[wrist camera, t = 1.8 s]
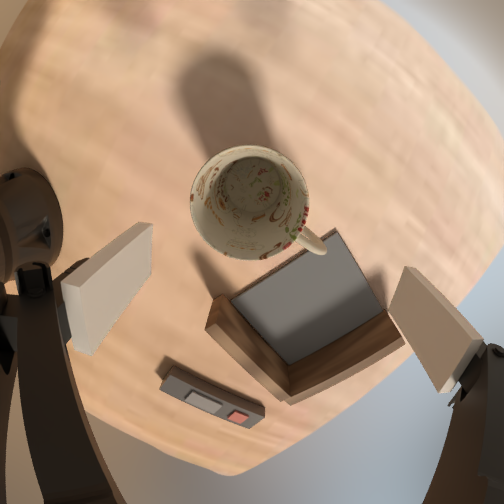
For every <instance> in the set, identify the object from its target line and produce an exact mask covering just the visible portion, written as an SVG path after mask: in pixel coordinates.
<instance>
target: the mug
mask: <svg viewBox="0 0 504 504" xmlns="http://www.w3.org/2000/svg"><path fill="white" fill-rule="evenodd" d="M190 210H191V216H192V219H193V222H194V225H195V227H196V229H197V231H198V232H199V234H200V236H201V237H202V238H203V239H204V241H205V242H206V243H207V244H208V245H209V246H211V247H212V248H213V249H214V250H216V251H217V252H219V253H221V254H223V255H225V256H227V257H230V258H233V259H237V260H243V261H257V260H263V259H267V258H270V257H273V256H275V255H277V254H279V253H281V252H282V251H284V250H285V249H287V248H288V247H289V246H290V245H291V244H292V243H293V242H294V241H295V242H297V243H298V244H300V245H301V246H303V247H304V248H306V249H307V250H309V251H311V252H313V253H315V254H318V255H325V254H326V253H327V248H326V246H325V244H324V243H323V242H322V241H321V239H320V238H319V237H318V236H317V235H315V234H314V233H313V232H312V231H311V230H309V229H308V228H307V227H306V226H305V223H306V220H307V217H308V212H309V194H308V189H307V186H306V183H305V180H304V178H303V176H302V174H301V173H300V171H299V170H298V168H297V167H296V166H295V165H294V164H293V163H292V162H291V161H290V160H289V159H288V158H287V157H285V156H284V155H283V154H281V153H279V152H278V151H276V150H273V149H271V148H268V147H265V146H260V145H250V144H247V145H238V146H234V147H230V148H228V149H225V150H223V151H221V152H219V153H217V154H216V155H214V156H213V157H212V158H211V159H209V160H208V161H207V162H206V163H205V164H204V166H203V167H202V168H201V169H200V171H199V172H198V174H197V176H196V178H195V180H194V183H193V186H192V189H191V195H190ZM301 233H302V234H304V235H305V236H306V237H308V238H309V239H310V240H309V239H308V238H306V237H305V236H303V235H302V234H301Z"/></svg>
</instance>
